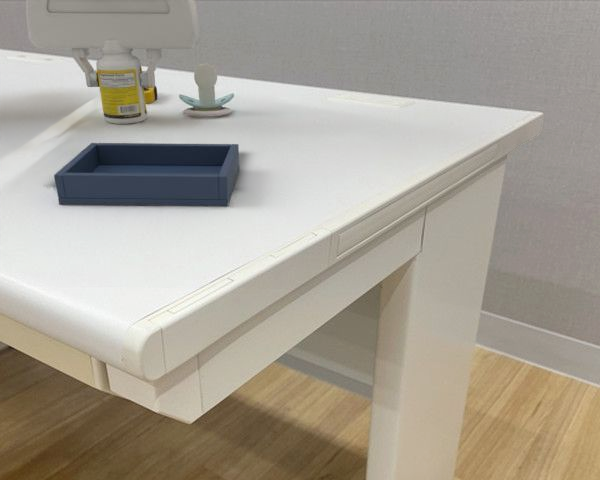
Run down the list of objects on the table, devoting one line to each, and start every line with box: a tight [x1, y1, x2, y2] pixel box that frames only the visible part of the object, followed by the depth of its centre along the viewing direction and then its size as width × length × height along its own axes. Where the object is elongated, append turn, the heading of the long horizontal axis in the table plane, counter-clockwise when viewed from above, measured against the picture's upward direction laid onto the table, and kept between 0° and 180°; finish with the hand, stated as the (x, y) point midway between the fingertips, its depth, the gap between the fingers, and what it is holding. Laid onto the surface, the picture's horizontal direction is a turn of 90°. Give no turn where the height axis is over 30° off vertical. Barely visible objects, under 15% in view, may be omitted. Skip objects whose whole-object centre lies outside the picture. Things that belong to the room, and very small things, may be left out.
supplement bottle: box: [95, 40, 148, 125], centre depth 80 cm, size 5×5×10 cm
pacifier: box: [178, 62, 235, 117], centre depth 84 cm, size 7×6×6 cm
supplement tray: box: [53, 142, 240, 207], centre depth 58 cm, size 14×10×3 cm
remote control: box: [144, 85, 158, 105], centre depth 96 cm, size 5×2×15 cm
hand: (122, 86), depth 80 cm, fingers closed on supplement bottle, 5 cm apart
